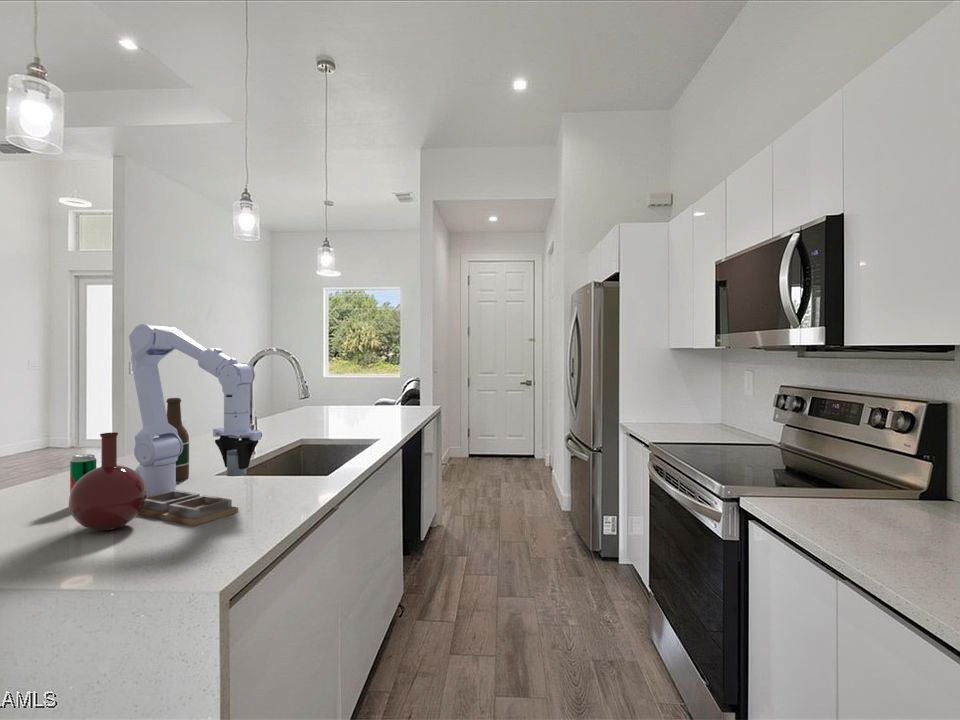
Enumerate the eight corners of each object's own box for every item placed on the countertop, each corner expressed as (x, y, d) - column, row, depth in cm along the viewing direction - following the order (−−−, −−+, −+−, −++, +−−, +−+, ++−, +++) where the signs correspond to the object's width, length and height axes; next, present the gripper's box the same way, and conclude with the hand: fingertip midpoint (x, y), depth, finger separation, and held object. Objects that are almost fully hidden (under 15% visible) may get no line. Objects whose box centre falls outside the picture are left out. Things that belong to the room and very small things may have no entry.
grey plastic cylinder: (222, 475, 123) (222, 450, 123) (238, 471, 128) (238, 447, 128) (235, 477, 122) (235, 452, 122) (250, 473, 126) (250, 449, 126)
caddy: (130, 512, 117) (130, 499, 117) (176, 500, 127) (176, 488, 127) (194, 525, 108) (194, 511, 108) (238, 511, 118) (238, 499, 118)
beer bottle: (151, 482, 145) (151, 398, 145) (172, 476, 153) (172, 396, 153) (175, 483, 144) (175, 399, 144) (195, 477, 152) (195, 397, 151)
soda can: (81, 509, 120) (81, 458, 120) (64, 507, 121) (64, 457, 121) (101, 503, 125) (101, 454, 125) (84, 501, 126) (84, 453, 126)
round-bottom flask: (51, 541, 99) (51, 438, 99) (97, 519, 112) (97, 429, 112) (122, 539, 100) (122, 438, 100) (159, 518, 113) (159, 428, 113)
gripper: (201, 412, 124) (201, 467, 124) (244, 415, 118) (243, 473, 118) (227, 409, 130) (226, 462, 130) (268, 412, 124) (268, 467, 124)
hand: (236, 467), depth 125 cm, fingers closed on grey plastic cylinder, 4 cm apart
